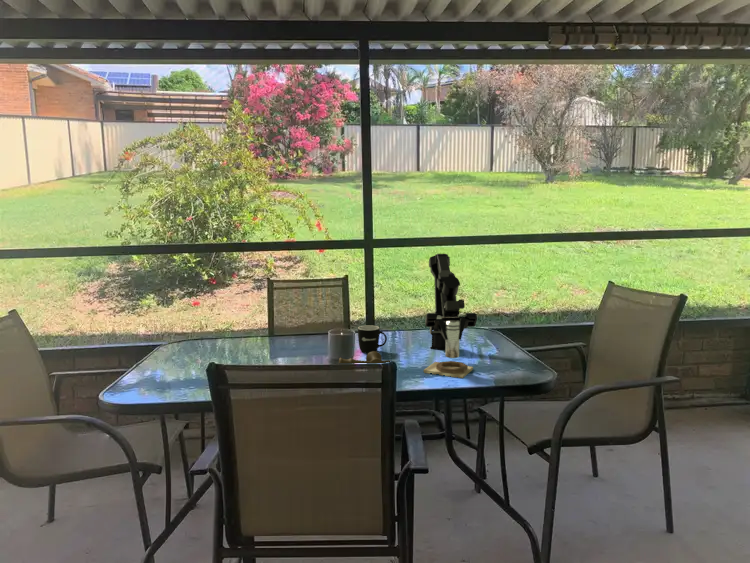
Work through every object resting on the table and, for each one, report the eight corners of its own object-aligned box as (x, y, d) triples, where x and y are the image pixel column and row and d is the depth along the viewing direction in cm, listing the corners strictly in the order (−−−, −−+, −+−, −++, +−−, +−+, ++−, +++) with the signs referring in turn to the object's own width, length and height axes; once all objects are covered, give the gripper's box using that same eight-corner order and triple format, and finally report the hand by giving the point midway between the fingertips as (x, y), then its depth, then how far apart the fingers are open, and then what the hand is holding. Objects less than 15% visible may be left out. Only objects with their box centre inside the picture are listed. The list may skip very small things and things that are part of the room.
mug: (357, 354, 244) (357, 330, 243) (358, 348, 253) (357, 325, 251) (387, 354, 244) (387, 330, 243) (386, 348, 253) (386, 325, 252)
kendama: (338, 368, 228) (390, 364, 230) (339, 376, 218) (394, 373, 220) (337, 353, 226) (390, 349, 229) (339, 360, 217) (393, 357, 219)
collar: (423, 372, 220) (423, 366, 219) (435, 364, 230) (435, 357, 230) (462, 378, 213) (462, 371, 213) (472, 369, 224) (473, 362, 223)
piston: (442, 355, 220) (442, 321, 218) (451, 353, 223) (452, 319, 221) (452, 358, 216) (453, 323, 214) (462, 356, 220) (462, 321, 218)
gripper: (426, 291, 220) (429, 327, 211) (477, 291, 220) (482, 327, 211) (424, 308, 229) (426, 343, 220) (472, 308, 229) (477, 343, 220)
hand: (453, 339), depth 217 cm, fingers closed on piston, 5 cm apart
